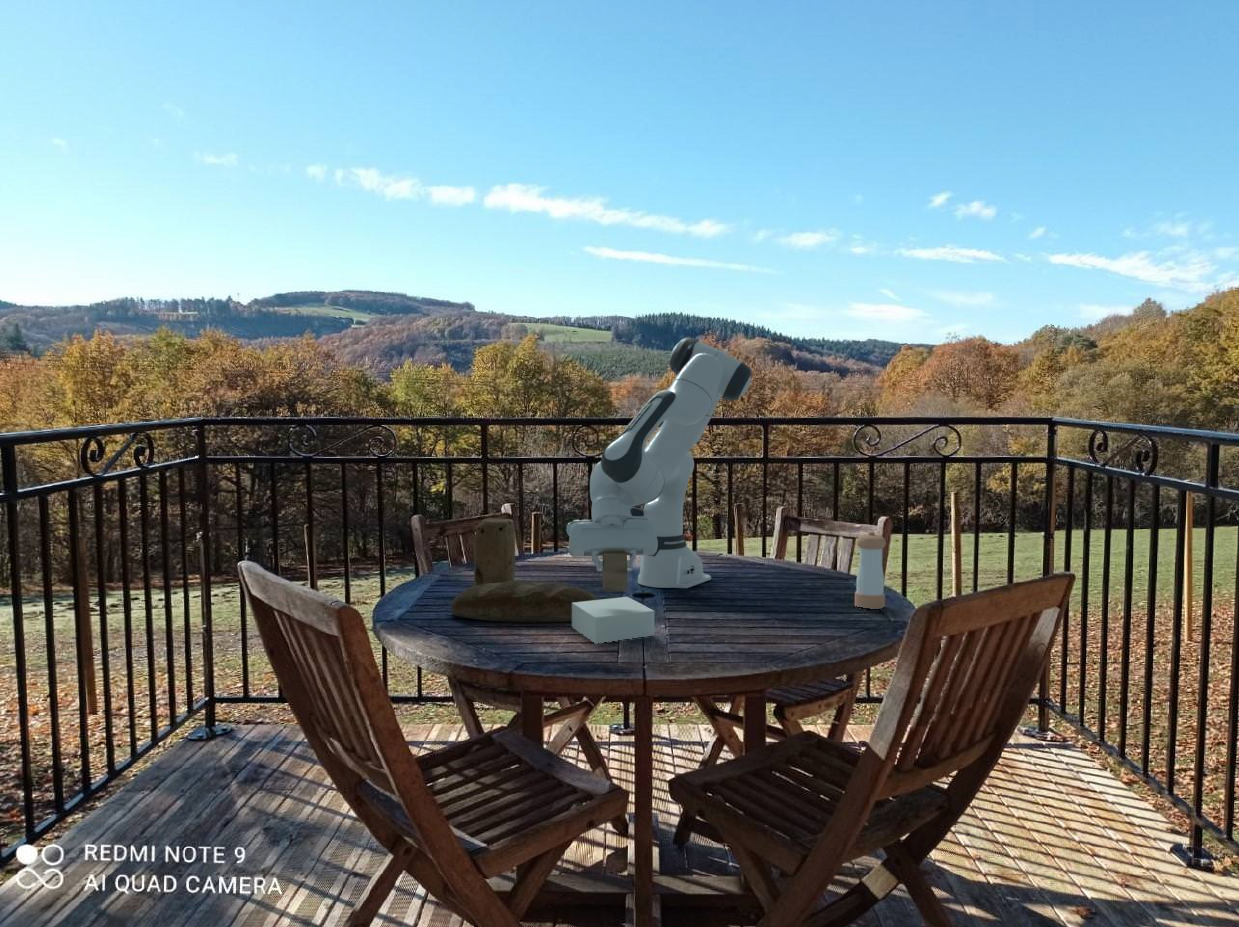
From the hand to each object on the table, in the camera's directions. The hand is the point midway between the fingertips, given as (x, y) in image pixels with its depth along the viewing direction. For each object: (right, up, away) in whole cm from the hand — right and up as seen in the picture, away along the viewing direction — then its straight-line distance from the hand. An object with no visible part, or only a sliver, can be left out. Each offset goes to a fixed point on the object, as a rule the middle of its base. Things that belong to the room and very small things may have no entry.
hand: (615, 569), depth 174 cm
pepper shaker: (+64, -13, +25) cm, 70 cm away
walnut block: (0, -4, +1) cm, 4 cm away
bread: (-21, -14, +15) cm, 30 cm away
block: (-33, -12, +39) cm, 52 cm away
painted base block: (-1, -14, +2) cm, 15 cm away
